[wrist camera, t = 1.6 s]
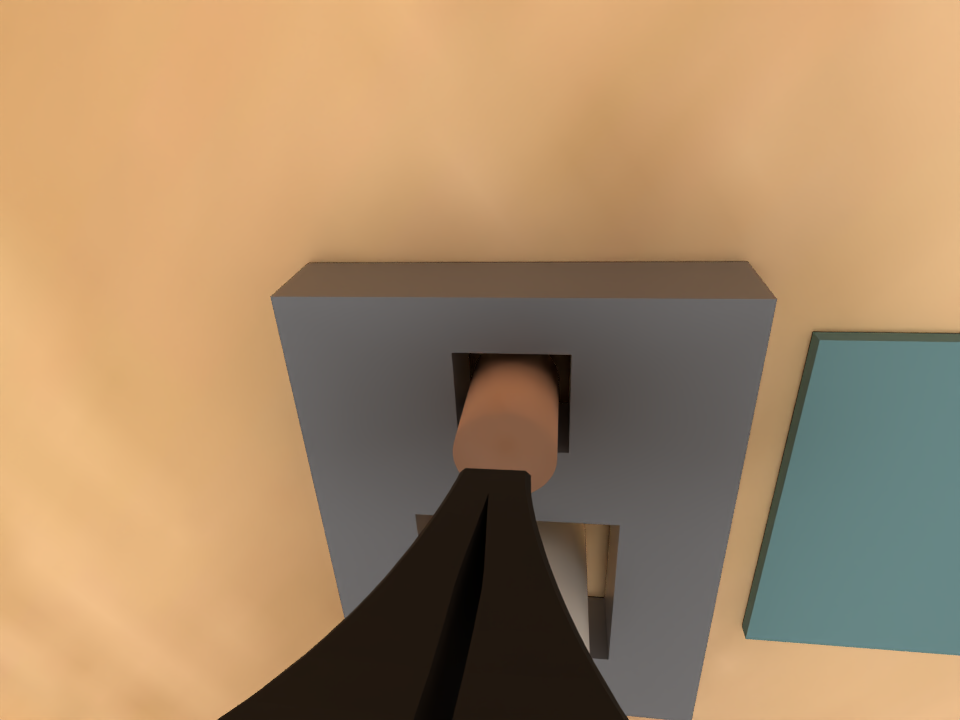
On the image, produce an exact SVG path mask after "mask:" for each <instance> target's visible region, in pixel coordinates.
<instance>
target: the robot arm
mask: <svg viewBox="0 0 960 720" xmlns="http://www.w3.org/2000/svg"><path fill="white" fill-rule="evenodd" d="M218 720H629V719H628V718H627V716H626V715H625V713H624V712H623V710H622V709H621V707H620V705H619V704H618V702H617V700H616V699H615V697H614V695H613V693H612V692H611V690H610V688H609V687H608V685H607V683H606V681H605V680H604V678H603V676H602V675H601V673H600V671H599V670H598V668H597V666H596V664H595V663H594V661H593V659H592V657H591V655H590V653H589V652H588V650H587V648H586V646H585V644H584V642H583V640H582V638H581V636H580V634H579V632H578V630H577V628H576V626H575V624H574V622H573V619H572V617H571V615H570V613H569V611H568V609H567V606H566V604H565V602H564V600H563V597H562V595H561V592H560V590H559V588H558V585H557V582H556V580H555V577H554V575H553V572H552V570H551V567H550V564H549V561H548V558H547V555H546V552H545V549H544V546H543V542H542V539H541V536H540V533H539V529H538V525H537V522H536V517H535V513H534V508H533V502H532V496H531V475H530V474H529V473H528V472H527V471H522V470H500V469H477V468H465V469H463V470H462V471H461V472H460V473H459V475H458V477H457V479H456V481H455V482H454V484H453V486H452V487H451V489H450V491H449V492H448V494H447V495H446V497H445V499H444V500H443V502H442V503H441V505H440V506H439V508H438V509H437V511H436V512H435V514H434V515H433V516H432V518H431V519H430V520H429V522H428V523H427V525H426V526H425V527H424V529H423V530H422V531H421V533H420V534H419V536H418V537H417V538H416V540H415V541H414V542H413V544H412V545H411V546H410V547H409V549H408V550H407V551H406V552H405V553H404V555H403V556H402V557H401V558H400V559H399V561H398V562H397V563H396V564H395V566H394V567H393V568H392V569H391V570H390V572H389V573H388V574H387V575H386V576H385V577H384V579H383V580H382V581H381V582H380V583H379V584H378V585H377V586H376V587H375V588H374V590H373V591H372V592H371V593H370V594H369V595H368V596H367V597H366V598H365V599H364V600H363V601H362V602H361V603H360V604H359V605H358V606H357V607H356V608H355V609H354V610H353V611H352V612H351V613H350V614H349V615H348V616H347V617H346V618H345V619H344V620H343V621H342V622H341V623H340V624H338V625H337V626H336V627H335V628H334V629H333V630H332V631H331V632H330V633H329V634H328V635H327V636H326V637H324V638H323V639H322V640H321V641H320V642H319V643H318V644H317V645H315V646H314V647H313V648H312V649H311V650H310V651H308V652H307V653H306V654H305V655H304V656H302V657H301V658H300V659H299V660H297V661H296V662H295V663H294V664H292V665H291V666H290V667H288V668H287V669H286V670H285V671H283V672H282V673H281V674H280V675H278V676H277V677H276V678H275V679H273V680H272V681H271V682H270V683H268V684H267V685H266V686H264V687H263V688H262V689H261V690H259V691H258V692H256V693H255V694H254V695H252V696H251V697H250V698H248V699H247V700H245V701H244V702H242V703H241V704H240V705H238V706H237V707H235V708H234V709H232V710H231V711H229V712H228V713H226V714H225V715H223V716H222V717H220V718H219V719H218Z"/></svg>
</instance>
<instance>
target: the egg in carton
mask: <svg viewBox="0 0 960 720" xmlns="http://www.w3.org/2000/svg"><path fill="white" fill-rule="evenodd" d="M558 408H559V374H558V370H557V367H556V365H555V363H554V361H553V360H552V358H551V357H550V356H549V355H548V354H501V353H483V354H482V355H481V356H480V358H479V359H478V361H477V363H476V365H475V368H474V372H473V375H472V379H471V383H470V386H469V390H468V393H467V397H466V401H465V404H464V408H463V412H462V415H461V419H460V422H459V426H458V430H457V433H456V437H455V440H454V444H453V459H454V462H455V465H456V467H457V469H458V471H459V473H460V472H461V471H462V470H463V469H465V468H477V469H500V470H522V471H527V472H528V473H529V474H530V475H531V493H532V492H534V491H536V490H538V489H539V488H541V487H542V486H544V485H545V484H546V483H547V482H548V481H549V480H550V478H551V477H552V475H553V473H554V471H555V469H556V465H557V448H558Z"/></svg>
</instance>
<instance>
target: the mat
mask: <svg viewBox="0 0 960 720" xmlns="http://www.w3.org/2000/svg"><path fill="white" fill-rule="evenodd" d="M742 628H743V631H744V635H745V638H746V639H755V640H768V641H780V642H793V643H806V644H819V645H832V646H845V647H857V648H870V649H883V650H896V651H909V652H922V653H935V654H947V655H960V334H943V333H860V332H813V335H812V339H811V343H810V347H809V351H808V355H807V360H806V364H805V368H804V372H803V376H802V380H801V384H800V389H799V393H798V397H797V401H796V405H795V409H794V414H793V418H792V422H791V426H790V430H789V434H788V438H787V443H786V447H785V451H784V455H783V459H782V463H781V468H780V472H779V476H778V480H777V484H776V488H775V492H774V497H773V501H772V505H771V509H770V513H769V517H768V522H767V526H766V530H765V534H764V538H763V542H762V547H761V551H760V555H759V559H758V563H757V567H756V571H755V576H754V580H753V584H752V588H751V592H750V596H749V601H748V605H747V609H746V613H745V617H744V621H743V625H742Z"/></svg>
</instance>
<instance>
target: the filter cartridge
mask: <svg viewBox="0 0 960 720" xmlns="http://www.w3.org/2000/svg"><path fill="white" fill-rule="evenodd" d="M536 522H537V525H538V529H539V533H540V536H541V539H542V542H543V546H544V549H545V552H546V555H547V558H548V561H549V564H550V567H551V570H552V572H553V575H554V577H555V580H556V582H557V585H558V588H559V590H560V592H561V595H562V597H563V600H564V602H565V604H566V606H567V609H568V611H569V613H570V615H571V617H572V619H573V622H574V624H575V626H576V628H577V630H578V632H579V634H580V636H581V638H582V640H583V642H584V644H585V646H586V648H587V650H588V652H589V653H590V648H589V620H588V591H587V563H586V535H585V526H584V523H567V522H549V521H536Z"/></svg>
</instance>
